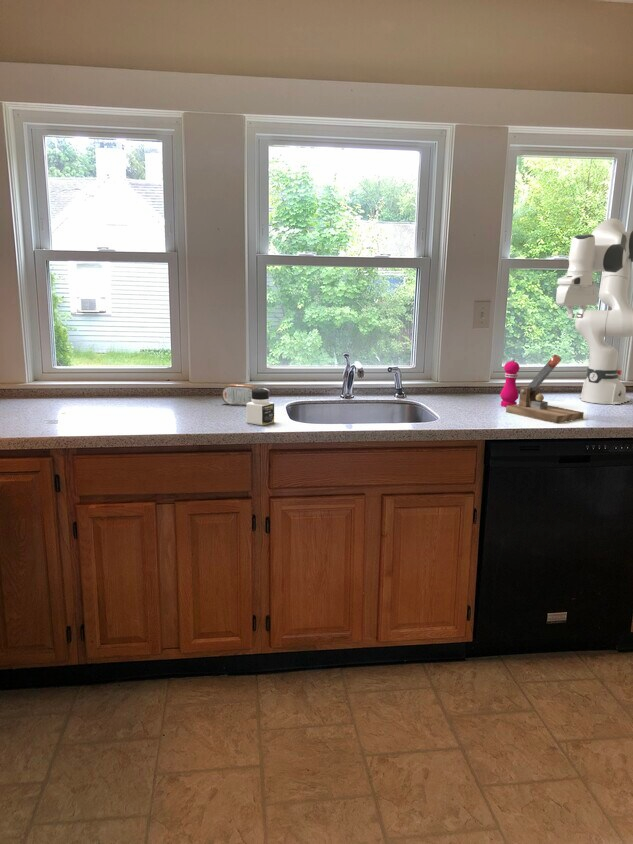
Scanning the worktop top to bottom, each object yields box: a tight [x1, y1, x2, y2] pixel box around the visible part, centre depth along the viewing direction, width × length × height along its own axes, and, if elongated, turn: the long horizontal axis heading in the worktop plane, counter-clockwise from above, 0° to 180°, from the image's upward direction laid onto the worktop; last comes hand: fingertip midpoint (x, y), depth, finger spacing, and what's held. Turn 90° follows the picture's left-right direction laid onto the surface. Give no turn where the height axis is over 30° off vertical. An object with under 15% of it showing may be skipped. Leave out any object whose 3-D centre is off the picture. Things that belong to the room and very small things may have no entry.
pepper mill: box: [499, 357, 520, 408], centre depth 258 cm, size 7×7×20 cm
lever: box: [527, 354, 562, 396], centre depth 242 cm, size 21×3×3 cm
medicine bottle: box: [245, 387, 275, 426], centre depth 221 cm, size 7×7×12 cm
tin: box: [221, 383, 257, 407], centre depth 252 cm, size 15×3×8 cm, turn 80°
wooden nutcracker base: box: [505, 386, 584, 424], centre depth 242 cm, size 16×23×10 cm
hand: (575, 318), depth 235 cm, fingers open, 4 cm apart
